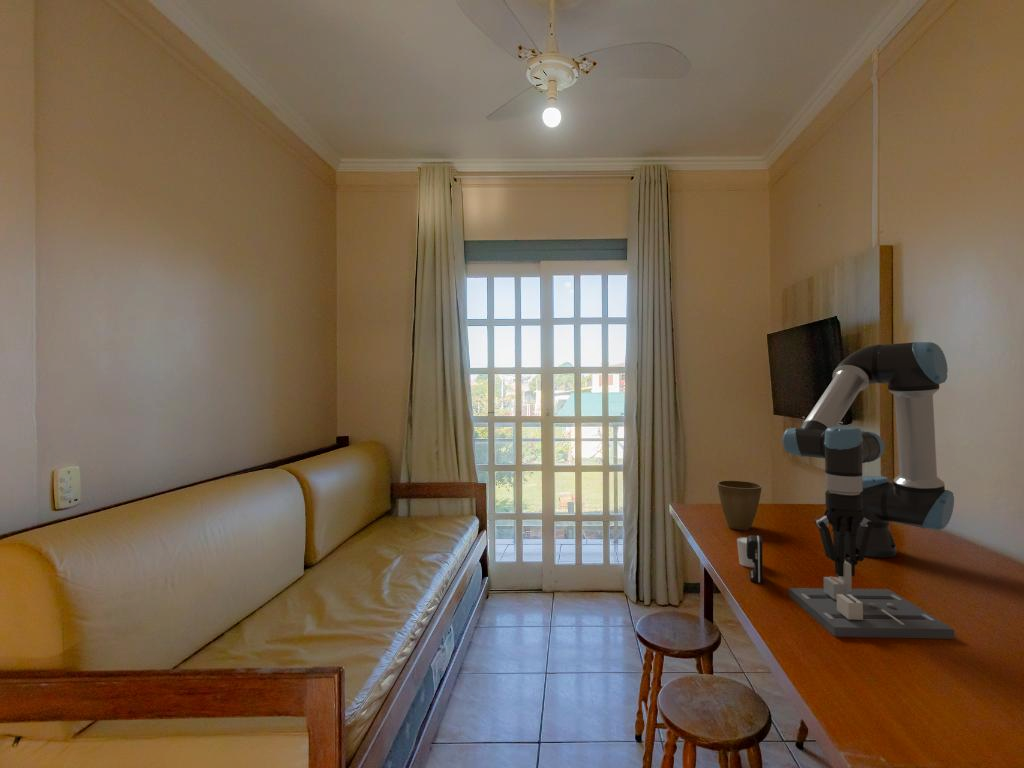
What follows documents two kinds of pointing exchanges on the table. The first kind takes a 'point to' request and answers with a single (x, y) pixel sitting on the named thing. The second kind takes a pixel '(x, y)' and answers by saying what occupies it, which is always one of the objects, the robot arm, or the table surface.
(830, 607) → the console
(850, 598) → the cream fader
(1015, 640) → the table surface
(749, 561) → the grey rimmed cylinder
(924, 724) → the table surface
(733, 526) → the plant pot
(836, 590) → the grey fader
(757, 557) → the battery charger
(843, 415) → the robot arm
